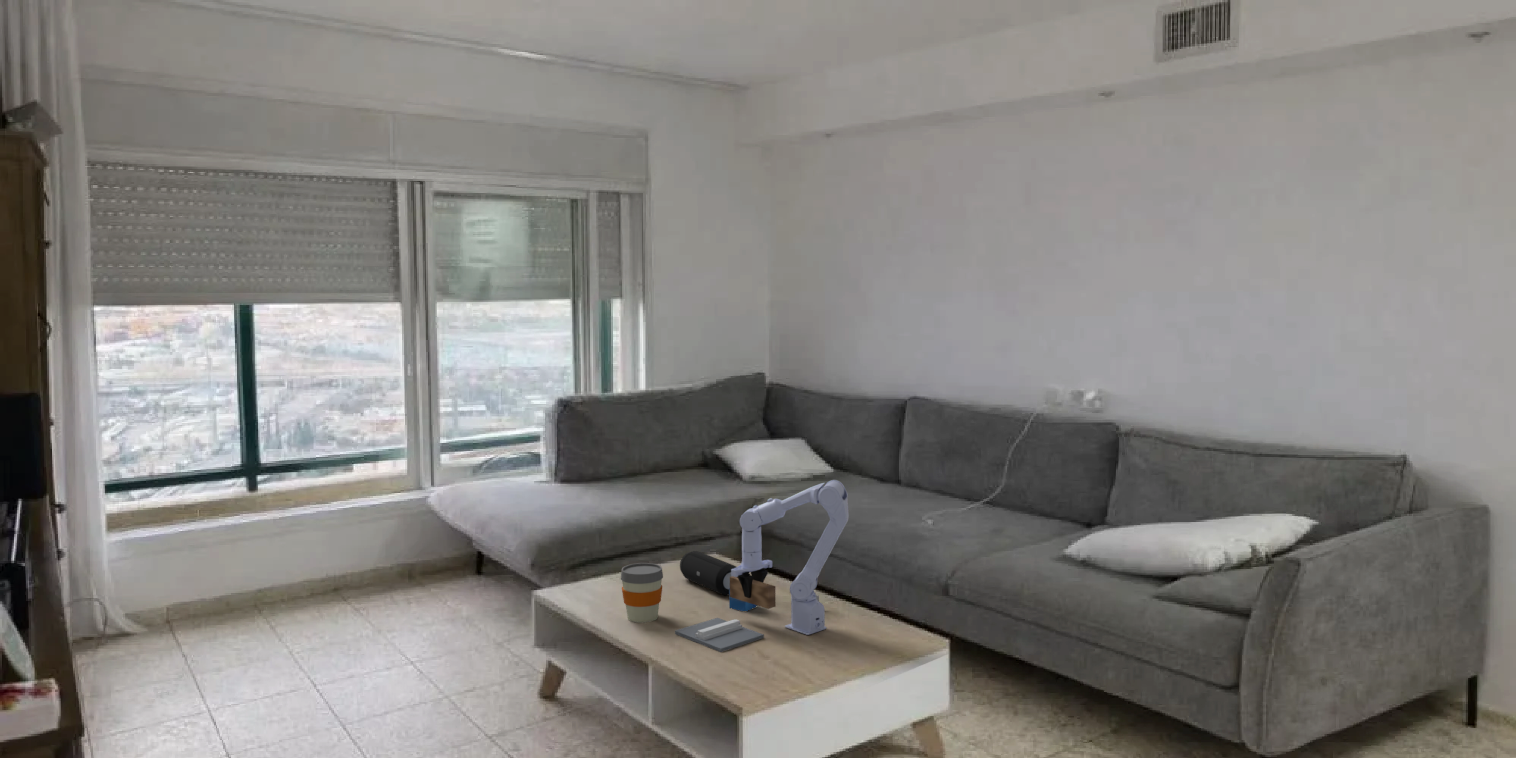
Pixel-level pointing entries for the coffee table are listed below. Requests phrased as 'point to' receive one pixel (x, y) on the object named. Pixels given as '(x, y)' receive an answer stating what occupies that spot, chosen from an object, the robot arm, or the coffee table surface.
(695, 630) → the ridge stand
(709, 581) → the portable speaker
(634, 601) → the reusable coffee cup
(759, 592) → the walnut bar
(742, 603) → the perfume bottle
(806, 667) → the coffee table surface
